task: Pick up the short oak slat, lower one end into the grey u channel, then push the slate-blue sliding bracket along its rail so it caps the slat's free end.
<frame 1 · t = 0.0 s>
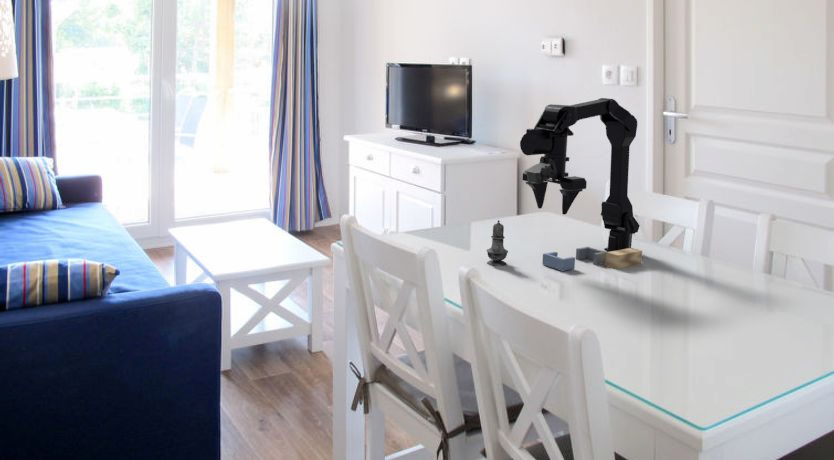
hand: (551, 211, 236), 15 cm above the table, fingers open, 9 cm apart
grey u channel: (591, 261, 244), on the table
slat: (623, 265, 241), on the table
salt shaker: (496, 264, 239), on the table
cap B: (558, 261, 236), point 2 cm above the table, slide at 0.0 cm
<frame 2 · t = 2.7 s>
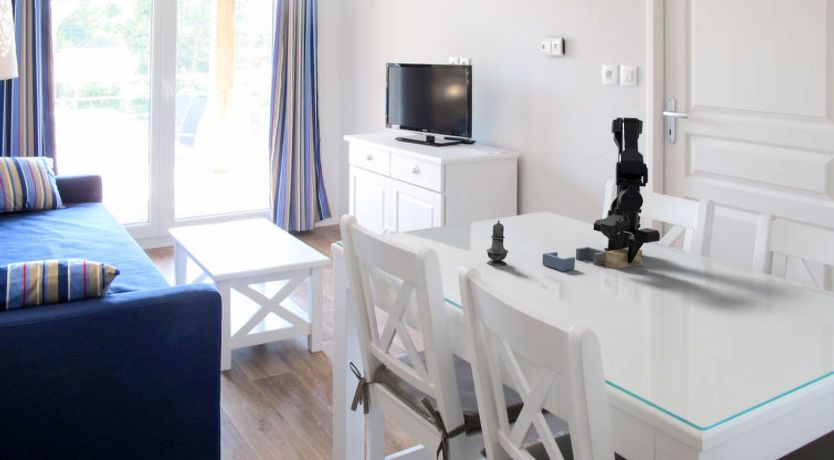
hand: (623, 261, 241), 1 cm above the table, fingers closed on slat, 4 cm apart
slat: (623, 265, 241), on the table, touching gripper
everything else where it was.
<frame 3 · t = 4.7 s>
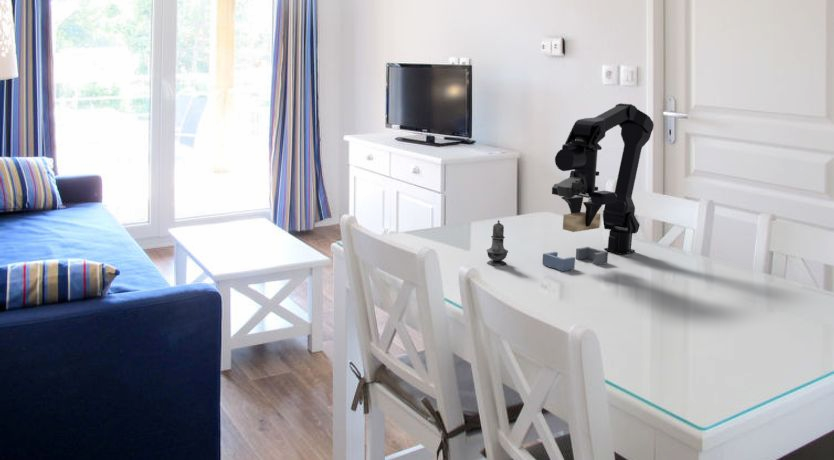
hand: (581, 224, 239), 11 cm above the table, fingers closed on slat, 4 cm apart
slat: (581, 228, 239), point 10 cm above the table, touching gripper
everything else where it was.
when the fingers open (2 cm above the table, at t = 6.4 s): slat drops 2 cm, on the table.
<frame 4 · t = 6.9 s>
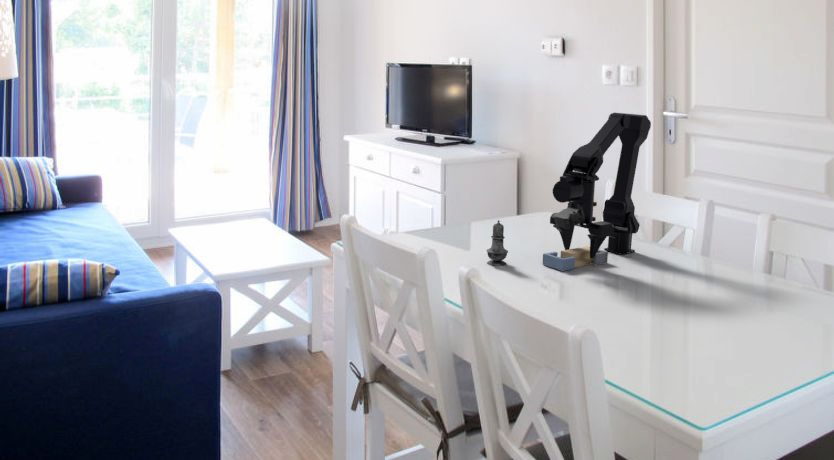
hand: (579, 254, 241), 2 cm above the table, fingers open, 9 cm apart
slat: (578, 264, 241), on the table
everything else where it was.
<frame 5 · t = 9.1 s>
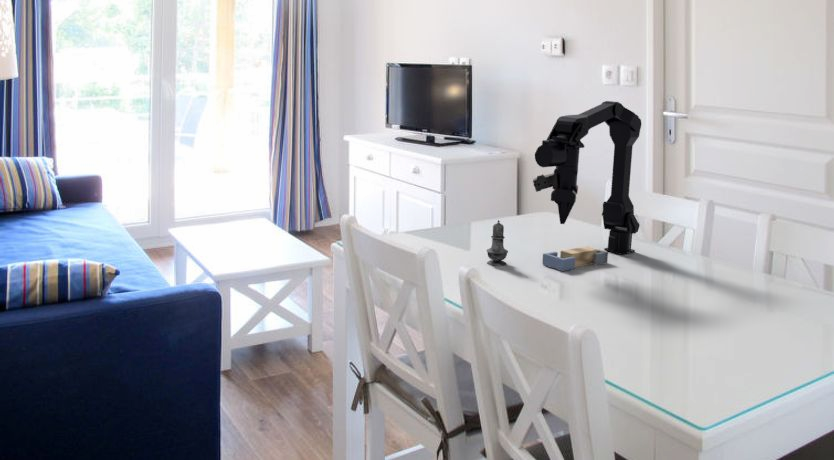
hand: (562, 223, 234), 12 cm above the table, fingers closed
nothing on the table moved.
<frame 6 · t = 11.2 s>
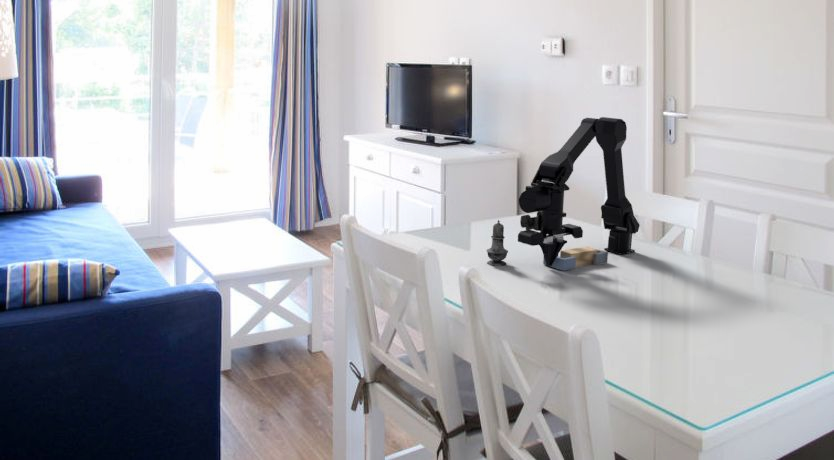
hand: (549, 265, 235), 1 cm above the table, fingers closed
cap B: (559, 260, 237), point 2 cm above the table, slide at 0.3 cm, touching gripper
everything else where it was.
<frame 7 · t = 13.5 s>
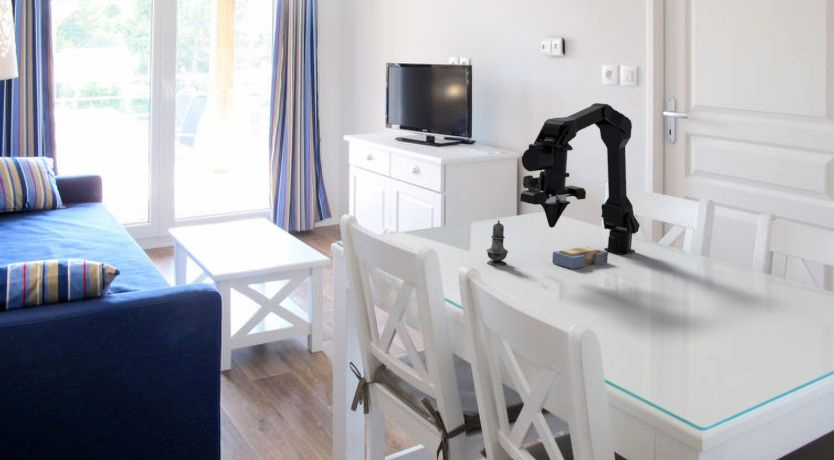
hand: (551, 227, 232), 11 cm above the table, fingers closed
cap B: (568, 259, 239), point 2 cm above the table, slide at 3.7 cm
everything else where it was.
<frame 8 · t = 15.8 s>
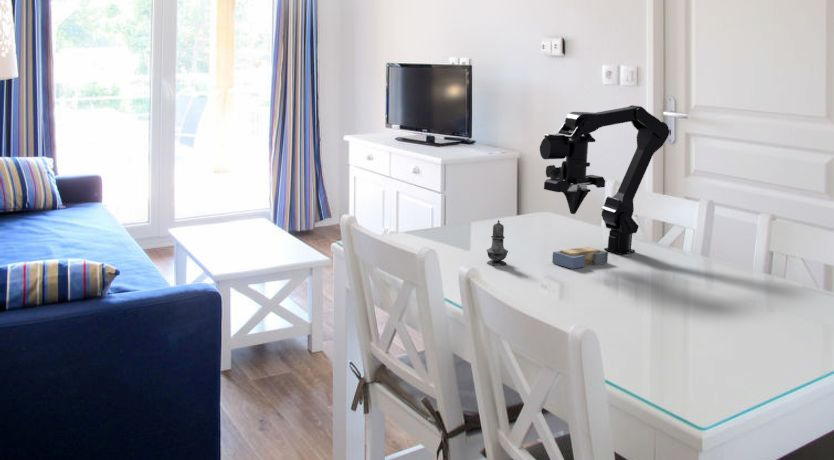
hand: (572, 213, 247), 12 cm above the table, fingers closed
nothing on the table moved.
at the end: slat 0.2 cm from the target spot, on the table; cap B slide at 3.7 cm; slat tilted 0° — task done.
